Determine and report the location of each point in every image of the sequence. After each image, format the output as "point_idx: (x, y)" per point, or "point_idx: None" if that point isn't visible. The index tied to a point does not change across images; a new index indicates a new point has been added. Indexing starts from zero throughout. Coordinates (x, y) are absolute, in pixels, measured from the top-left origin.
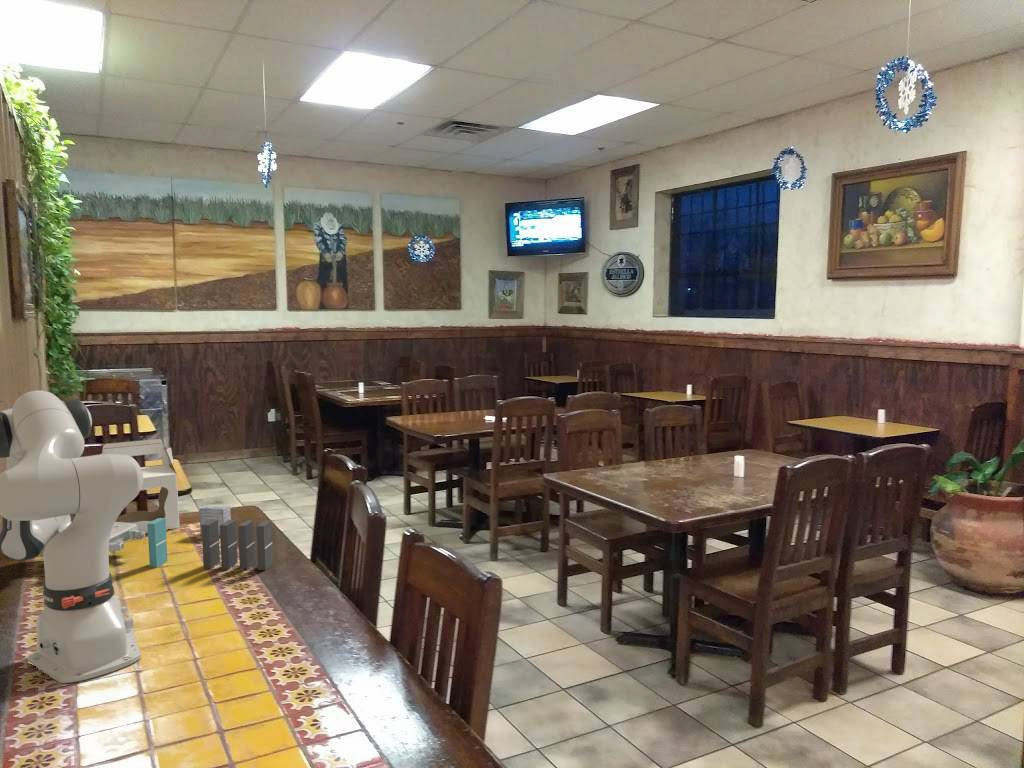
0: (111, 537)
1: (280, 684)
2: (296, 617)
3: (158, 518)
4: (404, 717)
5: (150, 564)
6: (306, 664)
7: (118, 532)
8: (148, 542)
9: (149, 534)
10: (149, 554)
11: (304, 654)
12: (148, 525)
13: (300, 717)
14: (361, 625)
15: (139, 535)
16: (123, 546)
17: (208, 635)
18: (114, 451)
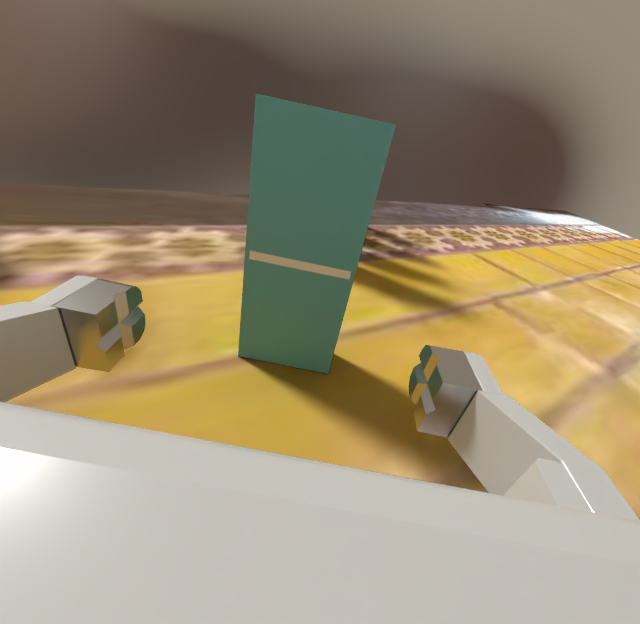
0: (374, 474)
1: (591, 238)
2: (481, 221)
3: (266, 96)
4: (563, 216)
5: (331, 360)
6: (553, 228)
7: (88, 441)
8: (358, 259)
9: (372, 206)
10: (342, 319)
11: (541, 227)
12: (390, 140)
13: (610, 236)
14: (469, 206)
15: (123, 314)
16: (421, 366)
17: (577, 262)
18: None
